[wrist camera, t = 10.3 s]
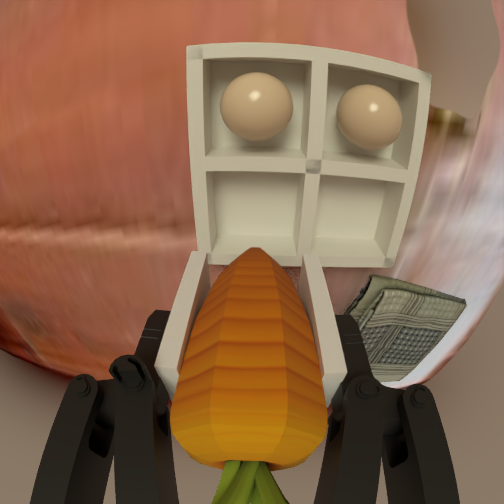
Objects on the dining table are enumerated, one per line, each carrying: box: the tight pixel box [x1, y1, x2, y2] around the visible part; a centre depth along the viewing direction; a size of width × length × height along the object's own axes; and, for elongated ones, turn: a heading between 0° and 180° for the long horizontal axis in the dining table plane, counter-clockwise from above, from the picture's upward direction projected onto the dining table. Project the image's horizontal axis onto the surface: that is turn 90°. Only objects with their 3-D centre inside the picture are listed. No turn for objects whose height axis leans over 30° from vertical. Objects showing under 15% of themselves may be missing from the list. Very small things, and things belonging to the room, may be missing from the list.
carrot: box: [170, 247, 327, 504], centre depth 10 cm, size 5×5×15 cm
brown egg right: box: [336, 84, 403, 150], centre depth 16 cm, size 5×5×5 cm
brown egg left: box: [220, 72, 293, 141], centre depth 16 cm, size 5×5×5 cm
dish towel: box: [344, 274, 467, 382], centre depth 31 cm, size 19×18×3 cm
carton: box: [187, 43, 431, 268], centre depth 19 cm, size 16×16×4 cm
